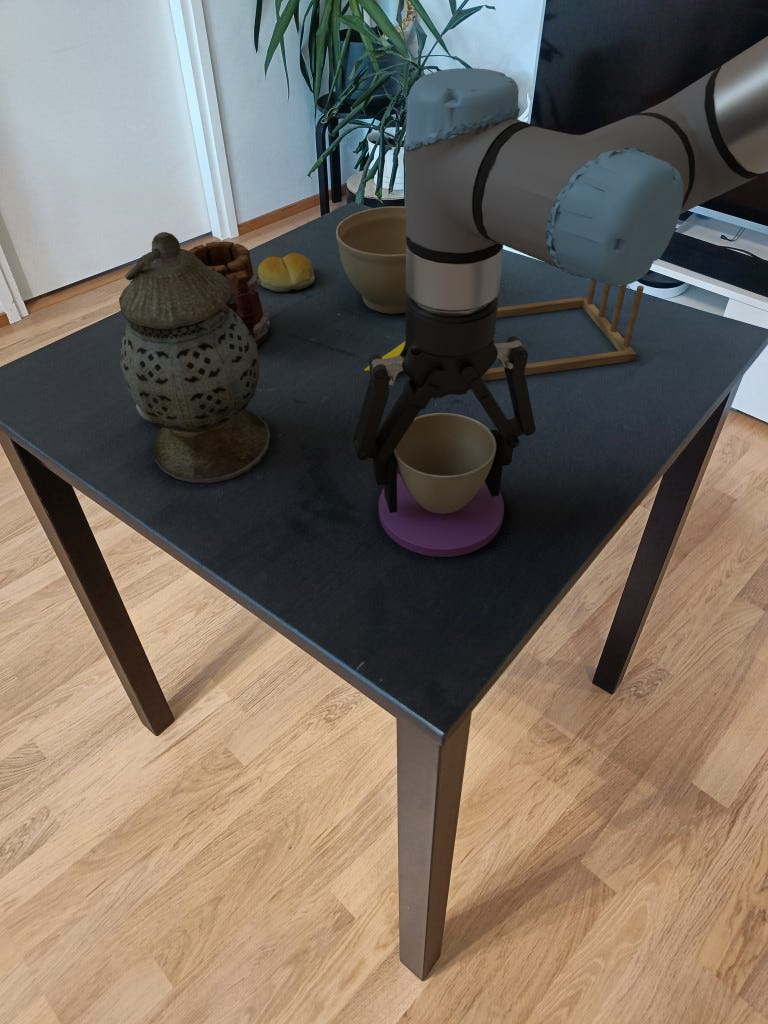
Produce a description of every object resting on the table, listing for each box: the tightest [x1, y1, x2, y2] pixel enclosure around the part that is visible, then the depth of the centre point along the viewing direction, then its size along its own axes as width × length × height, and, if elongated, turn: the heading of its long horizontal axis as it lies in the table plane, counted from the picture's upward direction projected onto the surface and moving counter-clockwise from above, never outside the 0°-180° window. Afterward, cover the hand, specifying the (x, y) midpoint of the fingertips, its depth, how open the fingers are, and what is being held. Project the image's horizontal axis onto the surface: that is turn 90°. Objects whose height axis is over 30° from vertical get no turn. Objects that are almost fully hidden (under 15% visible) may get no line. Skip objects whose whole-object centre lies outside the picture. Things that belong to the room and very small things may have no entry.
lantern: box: [118, 231, 271, 484], centre depth 74 cm, size 14×14×25 cm
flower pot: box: [393, 412, 496, 514], centre depth 71 cm, size 10×10×7 cm
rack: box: [482, 279, 645, 382], centre depth 95 cm, size 16×21×10 cm
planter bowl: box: [335, 205, 408, 315], centre depth 104 cm, size 16×16×11 cm
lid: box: [378, 473, 505, 558], centre depth 74 cm, size 13×13×1 cm
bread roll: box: [257, 252, 316, 293], centre depth 111 cm, size 8×9×4 cm
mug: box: [188, 240, 271, 347], centre depth 96 cm, size 12×14×15 cm
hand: (441, 495), depth 73 cm, fingers closed on flower pot, 10 cm apart
